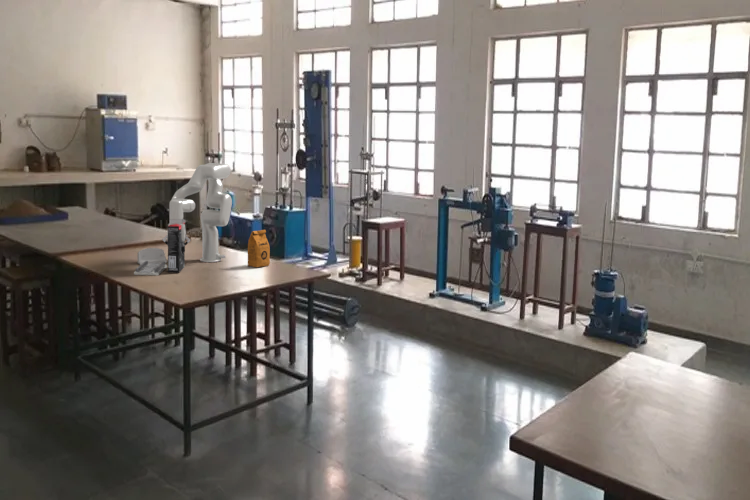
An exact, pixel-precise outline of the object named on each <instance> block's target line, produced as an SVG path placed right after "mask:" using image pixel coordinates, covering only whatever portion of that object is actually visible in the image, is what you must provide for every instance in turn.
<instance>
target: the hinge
mask: <svg viewBox="0 0 750 500" xmlns="http://www.w3.org/2000/svg"><path fill="white" fill-rule="evenodd" d="M145 261H148V264H151V263H160V264H161V263H162V262H163V261H165V264H166V263H167V264H168V259H167V258H166V253H165V250H164V249H162V248H159V247H148V248H143V249H141V250H138V252H137V264H139V266H140V265H141V264H142V263H144V262H145Z"/></svg>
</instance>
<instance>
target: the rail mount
mask: <svg viewBox="0 0 750 500" xmlns="http://www.w3.org/2000/svg"><path fill="white" fill-rule="evenodd" d="M166 269H168V264H166V263H165V261H163V262H162V263H151V264H148V261H145V262H144V263H142V264H141V265H140V264H139V266H137V267H136V268H135V271H134V272H133V275H134V276H159V275H161V273H162V272H164V271H165V270H166Z"/></svg>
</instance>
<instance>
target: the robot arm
mask: <svg viewBox="0 0 750 500" xmlns="http://www.w3.org/2000/svg"><path fill="white" fill-rule="evenodd" d="M231 172H232V170H231V167H230V165H228V164H226V163H215V162H209V163H206V164H199V165H198V166H197V167H196V169H195V170H194V172H193V174H192V175H191V177H190V179H189V181H188V183H187V182H186V184H184V185H183V186H181V187H180V188H179V189H177V190H176V191H175V192H174V194H173V196H172V197H171V200H170V201H169V223H168V225H167V227H168V226H169V225H181V240H182V254H183V253H184V252H185V253H186V246H187V245H188V244H189V243H190V242H191V238H189V237H188V235H187V229H186V223H187V221H186V219H184V213H192V212H194V210H195V209H196V203H195V201H194V200H193V199H190V198H189V199H188V198H186V197H189V196H191V195H194V194H197V193H199V192H201V191H202V190H203V188H204V186H205V184H206V182H208V190H207V194H206V200H205V203H206V206H207V207H208V208H212V209H205V210H203V211H202V212H201V213H200V222H201V230H202V231H201V233H202V234H201V235H202V237H201V238H202V245H201V246H202V257H200V258H199V260H200V261H199V262H203V263H217V262H218V263H219V262H220V261H222V259H226V254H220V252H219V230H218V228H217V227H226V226H227V225H228V224H229V220H230V217H231V212H232V211H231V210H232V207H233V205H232V204H233V199H232V196H231V195H230V194H228V193H224V192H223V188H224V184H223V182H222V179H226V178H227V179H228V178H229V177H230V175H231V174H232V173H231ZM217 209H218V210H217ZM183 223H185V224H183ZM166 233H167V234H166V235H165V236H164V237H163V238H162V241H163V242H164V244H165V245H166V246H167V247H168V229H167V232H166ZM186 240H187V241H186ZM184 241H185V242H184ZM185 253H184V254H185Z"/></svg>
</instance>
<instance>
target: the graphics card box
mask: <svg viewBox="0 0 750 500" xmlns="http://www.w3.org/2000/svg"><path fill="white" fill-rule="evenodd" d="M183 224H185V225H186V222H185V223H183ZM167 230H168V246H167V273H168V274H169V273H171V274H172V273H173V274H176V273H177V274H179V273H181V271H182V270H183V269H184V268H185V264H186V263H185V262H186V261H185V253H186V251H185V252H184V253H183V254H182V240H181V225H169V226H168V225H167ZM184 242H186V240H185V241H184Z"/></svg>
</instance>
